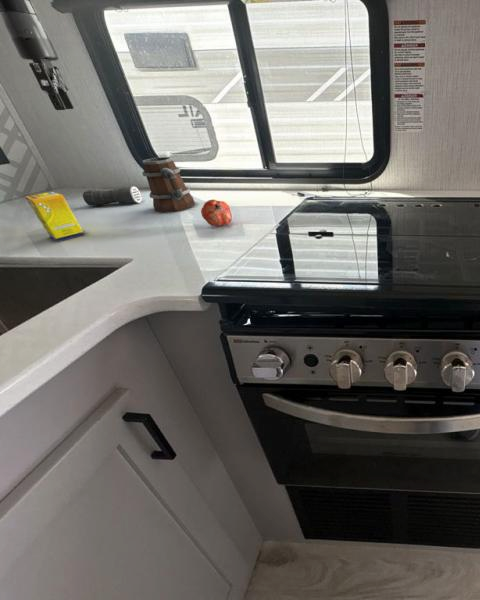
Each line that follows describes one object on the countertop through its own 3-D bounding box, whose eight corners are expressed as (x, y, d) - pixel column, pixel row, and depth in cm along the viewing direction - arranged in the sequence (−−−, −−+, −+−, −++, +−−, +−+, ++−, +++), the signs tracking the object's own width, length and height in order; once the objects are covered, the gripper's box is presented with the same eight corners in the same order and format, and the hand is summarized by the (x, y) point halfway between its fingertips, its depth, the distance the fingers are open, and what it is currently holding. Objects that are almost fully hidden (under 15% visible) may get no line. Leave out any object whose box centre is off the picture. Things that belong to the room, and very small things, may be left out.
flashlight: (86, 208, 111) (77, 192, 108) (95, 204, 116) (87, 188, 113) (136, 204, 114) (129, 188, 111) (143, 200, 118) (136, 184, 115)
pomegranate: (205, 233, 95) (202, 220, 86) (200, 209, 95) (196, 193, 86) (234, 231, 98) (233, 218, 89) (228, 207, 99) (228, 192, 90)
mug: (150, 208, 110) (129, 160, 102) (188, 200, 117) (172, 154, 109) (166, 217, 101) (144, 165, 93) (206, 208, 108) (190, 159, 100)
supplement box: (49, 237, 88) (23, 196, 82) (77, 230, 93) (54, 191, 87) (57, 242, 86) (30, 199, 80) (85, 234, 90) (62, 193, 84)
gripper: (21, 40, 89) (55, 109, 97) (-2, 32, 78) (39, 110, 87) (57, 41, 92) (87, 108, 100) (40, 34, 81) (75, 109, 90)
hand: (65, 109), depth 94 cm, fingers open, 8 cm apart
